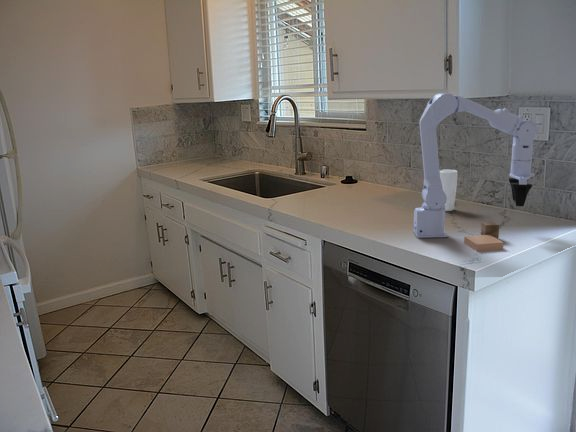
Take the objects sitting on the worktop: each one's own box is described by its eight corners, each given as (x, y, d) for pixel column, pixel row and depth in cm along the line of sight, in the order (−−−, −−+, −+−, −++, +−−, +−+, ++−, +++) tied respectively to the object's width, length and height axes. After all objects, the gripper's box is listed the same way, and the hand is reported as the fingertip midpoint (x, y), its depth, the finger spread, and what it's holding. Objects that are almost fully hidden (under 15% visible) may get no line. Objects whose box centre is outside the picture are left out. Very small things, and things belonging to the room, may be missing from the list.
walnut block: (484, 241, 157) (485, 225, 156) (480, 237, 161) (481, 221, 160) (498, 240, 157) (499, 224, 155) (493, 237, 161) (494, 221, 159)
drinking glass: (452, 207, 199) (454, 168, 195) (458, 211, 193) (460, 171, 189) (435, 208, 199) (436, 169, 195) (440, 212, 192) (442, 172, 189)
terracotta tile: (476, 252, 148) (476, 244, 147) (464, 244, 156) (464, 236, 155) (502, 250, 149) (503, 242, 148) (489, 242, 157) (489, 234, 156)
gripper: (539, 163, 149) (535, 209, 153) (532, 156, 163) (528, 198, 166) (513, 163, 151) (510, 208, 155) (508, 156, 165) (505, 197, 168)
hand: (518, 203), depth 160 cm, fingers open, 7 cm apart
